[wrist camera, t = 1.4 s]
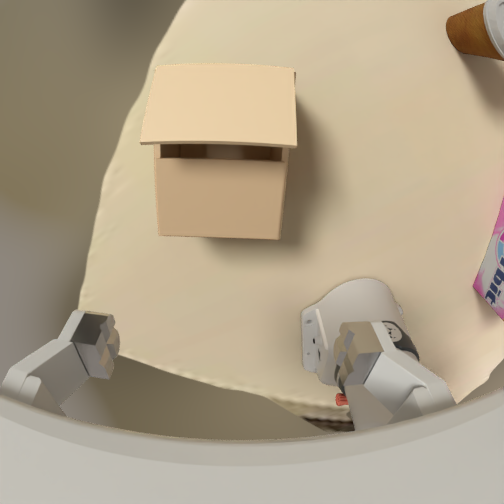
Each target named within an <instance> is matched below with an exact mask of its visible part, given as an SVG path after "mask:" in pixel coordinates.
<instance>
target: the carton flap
mask: <svg viewBox="0 0 504 504" xmlns="http://www.w3.org/2000/svg"><path fill="white" fill-rule="evenodd" d="M140 144H141V145H152V144H232V145H254V146H270V147H284V148H296V147H297V128H296V103H295V83H294V68H288V67H278V66H267V65H252V64H227V63H198V64H172V65H158V66H156V70H155V74H154V78H153V82H152V86H151V90H150V94H149V98H148V103H147V107H146V112H145V116H144V121H143V126H142V131H141V137H140Z"/></svg>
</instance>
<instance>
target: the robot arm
mask: <svg viewBox="0 0 504 504" xmlns="http://www.w3.org/2000/svg"><path fill="white" fill-rule="evenodd" d="M402 314H403V311H402V308H401V306H400V305H399V304H397V303H396V302H395V301H394V298H393V295H392V293H391V290H390V289H389V288H388V286H387V285H385V284H384V283H383V282H381V281H378V280H375V279H367V278H364V279H356V280H352V281H349V282H346V283H344V284H342V285H340V286H338V287H336V288H335V289H333V290H332V291H330V292H329V293H328V294H327V295H326V296H325V297H324V298H323V299H322V300H320V301H319V302H318V303H316V304H314V305H312V306H310V307H308V308H306V309H304V310H303V311H302V313H301V333H302V364H303V367H304V369H305V370H307V371H310V372H314V373H317V374H318V378H319V380H320V382H322V383H323V384H326V385H330V386H338V387H339V388H340V390H341V391H342V393H343V394H342V393H339V394H337V395H336V404H337V405H338V406H341V405H349V408H350V412H351V415H352V419H353V423H354V427H355V430H356V431H352V432H345V433H338V434H331V435H323V436H314V437H303V438H291V439H274V440H212V439H194V438H181V437H171V436H161V435H154V434H147V433H140V432H133V431H128V430H122V429H116V428H112V427H107V426H102V425H97V424H92V423H89V422H84V421H81V420H76V419H73V418H69V417H67V416H66V415H65V413H64V412H63V411H62V409H61V408H60V407H59V406H60V405H61V404H62V403H63V402H64V401H65V400H66V399H67V398H68V397H69V396H71V395H72V394H73V392H75V391H76V389H78V388H79V387H80V386H81V385H82V384H83V383H84V382H85V381H86V380H87V379H88V378H89V376H91V377H97V378H105V379H110V377H111V374H112V371H113V367H114V363H113V361H112V360H113V359H114V358H115V357H117V356H118V352H119V347H120V338H119V333H118V331H117V330H116V329H115V328H114V325H115V320H114V317H113V315H111V314H105V313H98V312H91V311H82V310H75V311H73V312H72V314H71V316H70V318H69V320H68V321H67V323H66V325H65V327H64V328H63V330H62V332H61V334H60V336H59V338H58V340H57V339H54V340H52V341H50V342H49V343H47V344H46V345H44V346H43V347H41V348H40V349H38V350H37V351H35V352H34V353H32V354H30V355H29V356H27V357H26V358H25V359H23V360H21V361H20V362H19V363H17V364H16V365H14V366H12V367H11V368H10V370H9V371H8V373H7V375H6V377H5V379H4V381H3V383H2V385H1V387H0V504H504V387H502V388H500V389H497V390H495V391H492V392H490V393H488V394H485V395H483V396H480V397H478V398H475V399H472V400H470V401H467V402H465V403H462V404H459V405H457V404H456V402H455V400H454V398H453V396H452V394H451V392H450V390H449V389H448V387H447V385H446V383H445V381H444V380H442V379H441V378H440V377H438V376H437V375H435V374H434V373H432V372H431V371H430V370H428V369H427V368H425V367H424V366H422V365H421V364H420V363H419V355H418V353H417V351H416V350H417V349H416V347H415V345H413V343H412V341H411V338H410V335H409V332H408V330H407V327H406V325H405V323H404V320H403V318H402ZM308 320H310V321H308Z"/></svg>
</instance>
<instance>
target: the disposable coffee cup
mask: <svg viewBox="0 0 504 504" xmlns="http://www.w3.org/2000/svg"><path fill="white" fill-rule="evenodd" d="M446 31H447V34H448V37H449V39H450V41H451V43H452V44H453V45H454V47H455V48H456V49H457V50H459V51H460V52H462V53H465V54H471V55H477V56H482V57H488V58H493V59H497V60H502V61H504V0H487V1H486V2H485V3H483V4H480V5H477V6H475V7H472V8H470V9H467V10H465V11H463V12H460V13H458V14H456V15H453V16H451V17H449V18H448V20H447V23H446Z"/></svg>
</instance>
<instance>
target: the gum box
mask: <svg viewBox="0 0 504 504" xmlns="http://www.w3.org/2000/svg"><path fill="white" fill-rule="evenodd" d="M473 287H474V288H475V289H476V290H477V291H478V293H479V294H480V295H481V296H482V297H483V298H484V299H485V300H486V302H487V303H488V304H489V305H490V306H491V307H492V308H493V309H494V311H495V312H496V313H497V314H498V315H499V316H500V318H501V319H502V320H503V321H504V198H503V201H502V205H501V209H500V213H499V216H498V219H497V222H496V225H495V229H494V232H493V235H492V238H491V241H490V243H489V246H488V249H487V252H486V255H485V258H484V260H483V262H482V265H481V267H480V270H479V273H478V275H477V278H476V280H475V282H474V284H473Z"/></svg>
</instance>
